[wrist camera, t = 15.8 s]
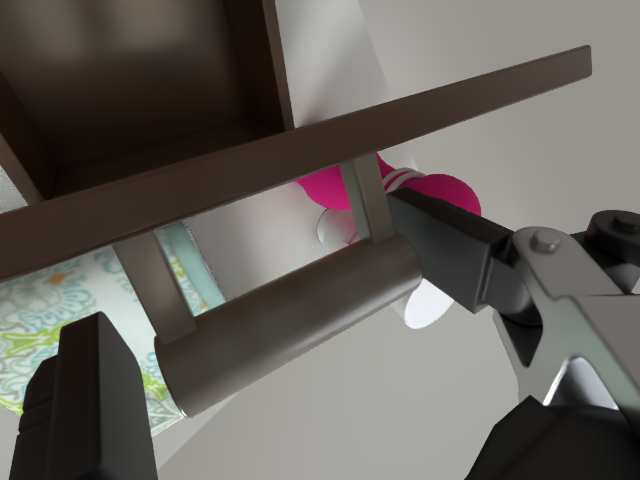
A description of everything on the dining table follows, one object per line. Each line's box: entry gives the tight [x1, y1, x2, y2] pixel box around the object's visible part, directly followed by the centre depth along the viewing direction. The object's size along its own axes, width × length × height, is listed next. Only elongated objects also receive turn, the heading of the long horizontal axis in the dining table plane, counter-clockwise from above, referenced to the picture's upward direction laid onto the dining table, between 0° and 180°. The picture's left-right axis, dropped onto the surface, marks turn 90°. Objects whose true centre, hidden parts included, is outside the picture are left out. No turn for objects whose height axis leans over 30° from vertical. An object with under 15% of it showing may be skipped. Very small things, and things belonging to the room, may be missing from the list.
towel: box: [0, 220, 227, 437], centre depth 30 cm, size 18×21×5 cm
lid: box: [0, 45, 592, 418], centre depth 13 cm, size 17×16×5 cm
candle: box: [317, 208, 454, 329], centre depth 34 cm, size 7×7×15 cm
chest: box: [0, 0, 295, 205], centre depth 19 cm, size 17×16×8 cm
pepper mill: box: [295, 152, 481, 216], centre depth 26 cm, size 7×7×20 cm
